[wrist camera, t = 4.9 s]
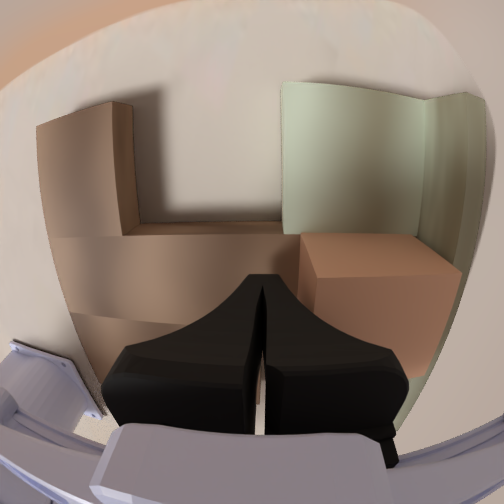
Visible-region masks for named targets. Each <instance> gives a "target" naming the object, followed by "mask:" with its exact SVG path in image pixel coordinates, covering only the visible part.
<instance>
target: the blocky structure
mask: <svg viewBox="0 0 504 504" xmlns="http://www.w3.org/2000/svg"><path fill="white" fill-rule="evenodd" d="M280 97H281V155H282V211H281V221H225V222H176V223H145V224H140V217H139V208H138V199H137V189H136V177H135V163H134V146H133V106H131V105H127V104H122V103H118V102H113V101H111V102H107V103H103V104H100V105H96V106H93V107H90V108H86V109H83V110H80V111H77V112H74V113H71V114H68V115H65V116H62V117H59V118H57V119H54V120H51V121H49V122H46V123H44V124H41V125H39V126H36V140H37V161H38V174H39V183H40V192H41V199H42V206H43V213H44V218H45V224H46V229H47V234H48V239H49V244H50V248H51V252H52V256H53V260H54V264H55V268H56V272H57V275H58V279H59V282H60V286H61V289H62V292H63V295H64V298H65V301H66V304H67V307H68V310H69V313H70V316H71V318H72V321H73V324H74V326H75V329H76V332H77V334H78V337H79V339H80V341H81V344H82V346H83V348H84V351H85V353H86V355H87V358H88V360H89V362H90V364H91V366H92V368H93V370H94V372H95V375H96V377H97V379H98V381H99V382H100V383H101V384H102V383H103V381H104V379H105V378H106V376H107V374H108V372H109V371H110V369H111V367H112V366H113V364H114V362H115V361H116V359H117V357H118V356H119V354H120V353H121V352H122V350H123V349H124V347H125V346H127V345H132V344H136V343H140V342H144V341H148V340H152V339H155V338H158V337H161V336H164V335H167V334H169V333H172V332H174V331H177V330H179V329H181V328H183V327H185V326H187V325H189V324H191V323H193V322H195V321H197V320H198V319H200V318H202V317H204V316H205V315H207V314H208V313H210V312H211V311H212V310H214V309H215V308H216V307H218V306H219V305H220V304H221V303H222V302H223V301H224V300H226V299H227V298H228V297H229V296H230V295H231V294H232V293H233V292H234V291H235V289H236V288H237V287H238V286H239V285H240V284H241V283H242V281H243V280H244V279H245V278H246V277H247V276H248V275H249V274H279V276H280V277H281V278H282V280H283V281H284V283H285V284H286V285H287V287H288V288H289V289H290V291H291V292H292V293H293V294H294V295H295V297H296V298H297V295H298V278H299V259H300V235H301V233H374V234H411V235H413V236H414V237H416V238H417V239H418V240H420V241H421V242H422V243H424V244H425V245H427V246H428V247H429V248H431V249H432V250H433V251H435V252H436V253H437V254H439V255H440V256H441V257H443V258H444V259H445V260H446V261H448V262H449V263H450V264H452V265H453V266H454V267H455V268H457V269H458V270H459V271H460V272H462V276H461V280H460V284H459V287H458V290H457V294H456V297H455V300H454V303H453V306H452V309H451V312H450V315H449V318H448V321H447V324H446V326H445V329H444V331H443V334H442V337H441V339H440V342H439V344H438V346H437V349H436V351H435V353H434V356H433V358H432V360H431V362H430V365H429V367H428V369H427V371H426V373H425V375H424V376H420V377H415V378H410V379H408V380H409V392H408V395H407V397H406V400H405V402H404V403H403V405H402V407H401V409H400V411H399V412H398V414H397V416H396V418H395V419H394V421H393V424H394V427H395V430H396V431H398V430H399V428H400V427H401V425H402V423H403V422H404V420H405V418H406V417H407V415H408V414H409V412H410V411H411V409H412V407H413V405H414V404H415V402H416V400H417V398H418V397H419V395H420V393H421V391H422V389H423V387H424V385H425V384H426V382H427V380H428V378H429V376H430V374H431V372H432V370H433V368H434V366H435V363H436V361H437V359H438V357H439V355H440V353H441V350H442V348H443V346H444V343H445V341H446V339H447V336H448V334H449V331H450V329H451V326H452V323H453V321H454V318H455V315H456V312H457V309H458V307H459V304H460V300H461V297H462V294H463V291H464V288H465V284H466V281H467V277H468V274H469V270H470V266H471V262H472V258H473V253H474V249H475V244H476V239H477V234H478V229H479V223H480V217H481V210H482V202H483V194H484V183H485V170H486V113H485V100H483V99H481V98H479V97H476V96H474V95H472V94H469V93H467V92H464V93H458V94H452V95H447V96H442V97H437V98H432V99H428V100H421V99H417V98H413V97H408V96H404V95H399V94H394V93H389V92H384V91H378V90H372V89H366V88H359V87H351V86H343V85H334V84H322V83H308V82H283V83H282V87H281V91H280ZM260 385H261V364H260V371H259V377H258V384H257V397H256V404H260Z"/></svg>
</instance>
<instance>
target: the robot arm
mask: <svg viewBox="0 0 504 504" xmlns="http://www.w3.org/2000/svg"><path fill="white" fill-rule="evenodd" d="M9 345H10V347H11V349H12V351H11V352H10V353H9V355H8V356H7V357H6V358H5V359H4V360H3V361H2V362H1V363H0V504H475V503H477V502H478V501H480V500H481V499H483V498H485V497H486V496H488V495H489V494H491V493H493V492H494V491H496V490H497V489H498V488H500V487H501V486H503V485H504V413H503V415H502V416H500V417H498V418H496V419H494V420H492V421H490V422H488V423H486V424H484V425H482V426H480V427H478V428H476V429H474V430H472V431H469V432H467V433H465V434H462V435H460V436H457V437H455V438H452V439H450V440H447V441H444V442H441V443H439V444H436V445H433V446H430V447H427V448H424V449H421V450H418V451H414V452H411V453H407V454H403V455H399V456H398V454H397V451H396V448H395V444H394V441H393V438H394V437H395V436H396V430H395V427H394V424H393V421H394V419H395V418H396V416H397V414H398V412H399V411H400V409H401V407H402V405H403V403H404V402H405V400H406V397H407V395H408V392H409V380H408V378H407V376H406V374H405V372H404V370H403V368H402V366H401V364H400V362H399V360H398V359H397V357H396V355H395V354H394V352H393V351H392V349H389V348H385V347H382V346H378V345H375V344H372V343H368V342H365V341H363V340H360V339H358V338H355V337H353V336H351V335H348V334H346V333H344V332H342V331H340V330H338V329H337V328H335V327H333V326H331V325H330V324H328V323H326V322H325V321H323V320H322V319H320V318H319V317H318V316H316V315H315V314H314V313H312V312H311V311H310V310H308V309H307V308H306V307H305V306H304V305H303V304H302V303H301V302H300V301H299V300H298V299H297V298H296V297H295V295H294V294H293V293H292V292H291V291H290V289H289V288H288V287H287V285H286V284H285V283H284V281H283V280H282V278H281V277H280V276H279V274H249V275H248V276H247V277H246V278H245V279H244V280H243V281H242V283H241V284H240V285H239V286H238V287H237V288H236V289H235V291H234V292H233V293H232V294H231V295H230V296H229V297H228V298H227V299H226V300H224V301H223V302H222V303H221V304H220V305H219V306H218V307H216V308H215V309H214V310H212V311H211V312H210V313H208V314H207V315H205V316H204V317H202V318H200V319H198V320H197V321H195V322H193V323H191V324H189V325H187V326H185V327H183V328H181V329H179V330H177V331H174V332H172V333H169V334H167V335H164V336H161V337H158V338H155V339H152V340H148V341H144V342H140V343H136V344H132V345H127V346H125V347H124V349H123V350H122V352H121V353H120V354H119V356H118V357H117V359H116V361H115V362H114V364H113V366H112V367H111V369H110V371H109V372H108V374H107V376H106V378H105V379H104V381H103V383H102V385H101V393H102V396H103V399H104V401H105V403H106V405H107V407H108V409H109V410H110V412H111V414H112V415H113V417H114V419H115V420H116V422H117V423H118V425H119V426H120V427H119V428H117V429H116V430H114V431H112V433H111V436H110V438H109V440H108V442H107V445H103V444H100V443H98V442H95V441H92V440H89V439H87V438H84V437H81V436H79V435H76V434H74V433H73V432H74V430H75V428H76V426H77V424H78V423H79V421H80V419H81V417H82V415H83V414H84V415H87V416H90V417H93V418H96V419H99V420H102V418H103V415H102V413H101V412H100V410H99V409H98V407H97V405H96V404H95V402H94V400H93V399H92V397H91V395H90V394H89V392H88V390H87V388H86V386H85V385H84V383H83V381H82V379H81V377H80V375H79V373H78V372H77V370H76V368H75V366H74V364H73V362H72V361H70V360H68V359H65V358H62V357H58V356H55V355H52V354H48V353H45V352H42V351H39V350H36V349H33V348H30V347H27V346H25V345H22V344H19V343H16V342H14V341H10V343H9ZM262 351H263V357H264V369H265V380H266V395H265V435H255V418H256V397H257V384H258V377H259V371H260V364H261V358H262Z"/></svg>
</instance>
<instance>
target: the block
mask: <svg viewBox="0 0 504 504" xmlns="http://www.w3.org/2000/svg"><path fill="white" fill-rule="evenodd" d="M461 276H462V272H460V271H459V270H458V269H457V268H455V267H454V266H453V265H452V264H450V263H449V262H448V261H446V260H445V259H444V258H443V257H441V256H440V255H439V254H437V253H436V252H435V251H433V250H432V249H431V248H429V247H428V246H427V245H425V244H424V243H422V242H421V241H420V240H418V239H417V238H416V237H414V236H413V235H411V234H374V233H301V235H300V259H299V278H298V295H297V299H298V300H299V301H300V302H301V303H302V304H303V305H304V306H305V307H306V308H307V309H308V310H310V311H311V312H312V313H314V314H315V315H316V316H318V317H319V318H320V319H322V320H323V321H325V322H326V323H328V324H330V325H331V326H333V327H335V328H337V329H338V330H340V331H342V332H344V333H346V334H348V335H351V336H353V337H355V338H358V339H360V340H363V341H365V342H368V343H372V344H375V345H378V346H382V347H385V348H389V349H392V351H393V352H394V354H395V355H396V357H397V359H398V360H399V362H400V364H401V366H402V368H403V370H404V372H405V374H406V376H407V378H408V379H410V378H415V377H420V376H424V375H425V373H426V371H427V369H428V367H429V365H430V362H431V360H432V358H433V356H434V353H435V351H436V349H437V346H438V344H439V342H440V339H441V337H442V334H443V331H444V329H445V326H446V324H447V321H448V318H449V315H450V312H451V309H452V306H453V303H454V300H455V297H456V294H457V290H458V287H459V284H460V280H461Z"/></svg>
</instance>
